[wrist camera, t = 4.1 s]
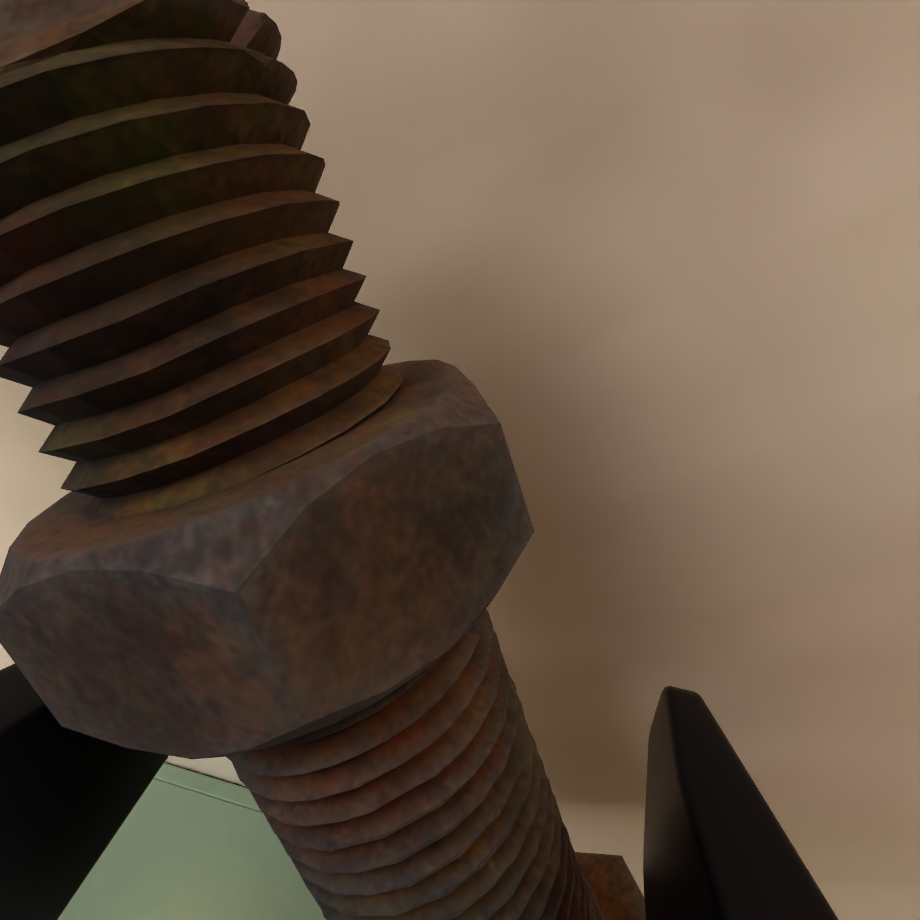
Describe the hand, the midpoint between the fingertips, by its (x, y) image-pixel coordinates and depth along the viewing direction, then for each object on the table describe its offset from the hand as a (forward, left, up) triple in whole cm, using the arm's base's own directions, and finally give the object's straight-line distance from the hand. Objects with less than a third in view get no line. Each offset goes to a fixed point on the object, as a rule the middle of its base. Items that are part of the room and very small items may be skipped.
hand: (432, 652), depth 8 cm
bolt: (0, 0, -1) cm, 1 cm away
